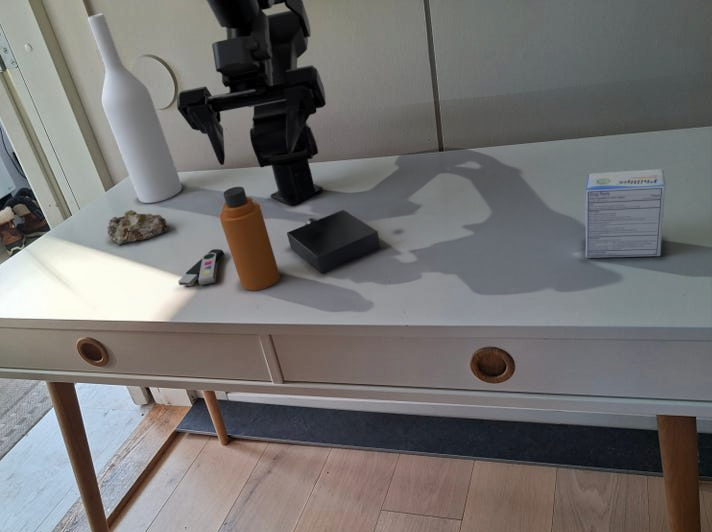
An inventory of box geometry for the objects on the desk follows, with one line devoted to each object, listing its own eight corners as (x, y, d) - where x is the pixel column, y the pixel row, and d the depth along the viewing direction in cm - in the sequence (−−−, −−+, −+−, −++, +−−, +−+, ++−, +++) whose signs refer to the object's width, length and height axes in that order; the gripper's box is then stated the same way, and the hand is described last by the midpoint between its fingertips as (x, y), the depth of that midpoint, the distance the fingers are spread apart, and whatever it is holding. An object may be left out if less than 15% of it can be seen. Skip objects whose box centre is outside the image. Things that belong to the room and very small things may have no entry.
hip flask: (381, 248, 93) (378, 231, 91) (321, 274, 91) (317, 256, 89) (341, 222, 102) (337, 205, 101) (285, 245, 100) (281, 228, 98)
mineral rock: (91, 235, 111) (110, 201, 116) (105, 255, 114) (123, 221, 119) (151, 233, 108) (168, 198, 112) (163, 254, 111) (179, 219, 116)
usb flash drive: (212, 254, 102) (210, 248, 101) (242, 256, 99) (240, 249, 99) (178, 286, 96) (176, 279, 95) (209, 288, 93) (207, 281, 93)
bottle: (189, 190, 126) (127, 9, 109) (148, 207, 123) (78, 24, 106) (172, 180, 132) (110, 7, 115) (132, 197, 129) (63, 22, 112)
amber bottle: (234, 282, 94) (205, 195, 86) (266, 266, 96) (240, 179, 88) (254, 294, 90) (225, 204, 83) (287, 277, 92) (262, 187, 85)
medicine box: (659, 238, 81) (665, 167, 76) (660, 258, 78) (666, 185, 73) (587, 240, 84) (587, 172, 79) (585, 259, 81) (585, 189, 76)
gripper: (157, 25, 88) (159, 138, 84) (302, -6, 84) (311, 110, 81) (192, 78, 98) (195, 180, 95) (322, 52, 95) (331, 156, 92)
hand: (255, 157), depth 90 cm, fingers open, 9 cm apart
